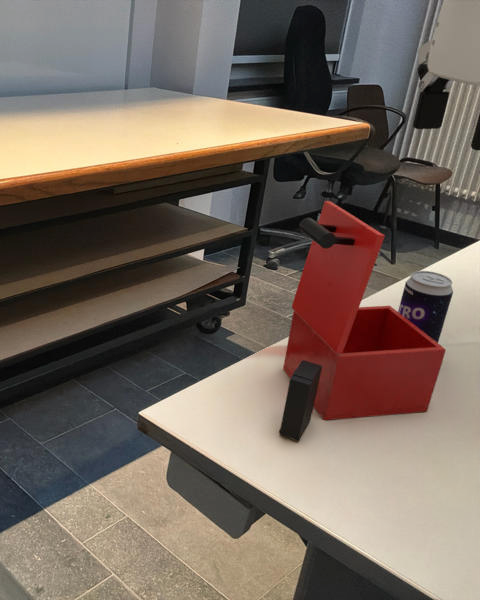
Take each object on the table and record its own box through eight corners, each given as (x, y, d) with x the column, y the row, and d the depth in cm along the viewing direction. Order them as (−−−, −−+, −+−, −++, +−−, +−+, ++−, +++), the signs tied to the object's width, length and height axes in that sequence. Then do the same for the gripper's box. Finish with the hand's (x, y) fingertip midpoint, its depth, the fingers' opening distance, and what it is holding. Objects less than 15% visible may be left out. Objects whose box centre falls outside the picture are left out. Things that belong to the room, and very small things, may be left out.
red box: (375, 362, 92) (389, 305, 88) (427, 411, 82) (446, 349, 78) (282, 369, 89) (293, 310, 86) (324, 420, 79) (338, 356, 76)
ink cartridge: (291, 415, 80) (302, 357, 77) (310, 421, 79) (323, 363, 76) (277, 436, 76) (289, 376, 73) (297, 443, 75) (310, 383, 72)
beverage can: (390, 343, 96) (410, 266, 91) (434, 354, 94) (457, 275, 89) (384, 360, 92) (405, 280, 87) (429, 372, 90) (453, 291, 84)
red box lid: (330, 201, 80) (292, 197, 79) (385, 235, 70) (341, 231, 68) (296, 307, 86) (260, 305, 84) (342, 353, 75) (302, 351, 74)
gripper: (611, -41, 58) (547, 157, 65) (474, -40, 73) (435, 120, 81) (534, -42, 56) (478, 160, 64) (411, -41, 72) (377, 122, 79)
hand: (454, 138), depth 72 cm, fingers open, 9 cm apart
